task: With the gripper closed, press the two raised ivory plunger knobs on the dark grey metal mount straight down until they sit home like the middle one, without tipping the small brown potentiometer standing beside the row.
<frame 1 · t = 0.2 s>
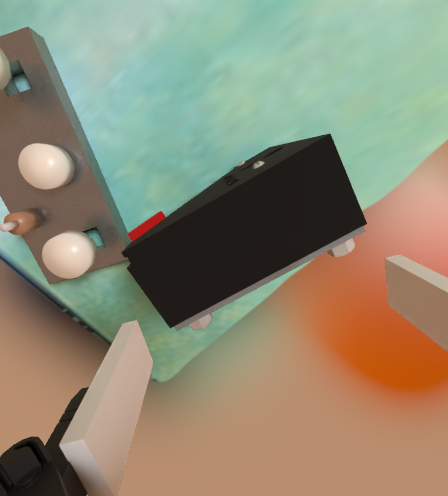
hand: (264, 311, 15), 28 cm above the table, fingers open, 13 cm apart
knob mid: (54, 166, 35), point 3 cm above the table, slide at 4.0 cm
mount: (52, 170, 38), on the table
knob outer: (76, 250, 34), point 7 cm above the table, slide at 0.0 cm
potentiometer: (30, 219, 37), point 3 cm above the table, touching mount
electrical component: (228, 207, 41), on the table
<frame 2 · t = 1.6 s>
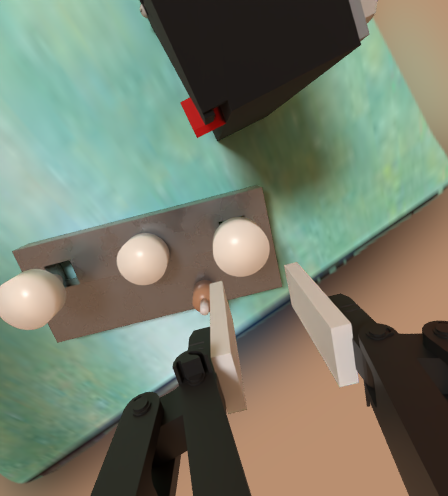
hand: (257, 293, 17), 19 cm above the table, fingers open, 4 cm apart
knob mid: (147, 254, 32), point 3 cm above the table, slide at 4.0 cm
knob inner: (41, 291, 28), point 7 cm above the table, slide at 0.0 cm
mount: (157, 260, 35), on the table
knob outer: (238, 241, 28), point 7 cm above the table, slide at 0.0 cm
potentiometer: (204, 289, 34), point 3 cm above the table, touching mount
electrical component: (207, 44, 29), on the table
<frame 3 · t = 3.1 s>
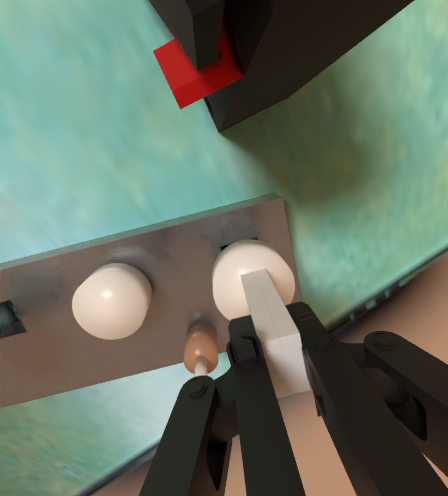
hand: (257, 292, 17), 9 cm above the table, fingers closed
knob mid: (120, 291, 23), point 3 cm above the table, slide at 4.0 cm
mount: (138, 295, 26), on the table
knob outer: (247, 273, 20), point 6 cm above the table, slide at 1.4 cm, touching gripper
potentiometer: (201, 337, 24), point 3 cm above the table, touching mount
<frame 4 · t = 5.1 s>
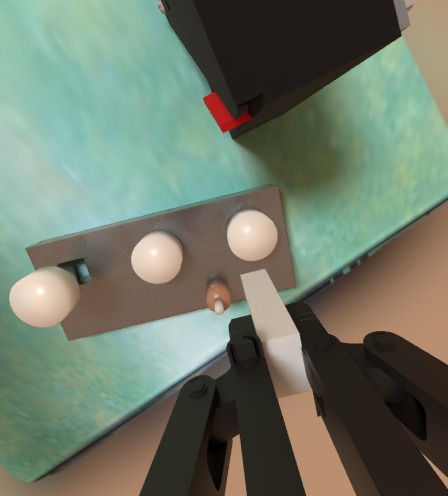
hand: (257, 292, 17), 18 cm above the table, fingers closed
knob mid: (160, 252, 31), point 3 cm above the table, slide at 4.0 cm
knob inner: (55, 289, 28), point 7 cm above the table, slide at 0.0 cm
mount: (170, 259, 35), on the table
knob outer: (249, 231, 31), point 3 cm above the table, slide at 4.0 cm
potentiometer: (217, 289, 33), point 3 cm above the table, touching mount
electrical component: (224, 41, 29), on the table
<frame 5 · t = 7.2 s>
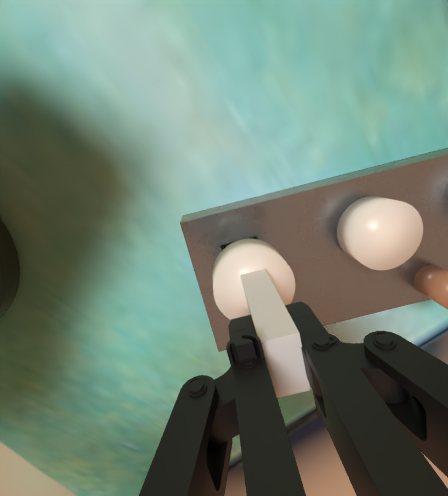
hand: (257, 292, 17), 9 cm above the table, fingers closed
knob mid: (366, 227, 22), point 3 cm above the table, slide at 4.0 cm
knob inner: (248, 272, 20), point 6 cm above the table, slide at 1.2 cm, touching gripper
mount: (349, 240, 26), on the table
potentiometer: (428, 278, 24), point 3 cm above the table, touching mount
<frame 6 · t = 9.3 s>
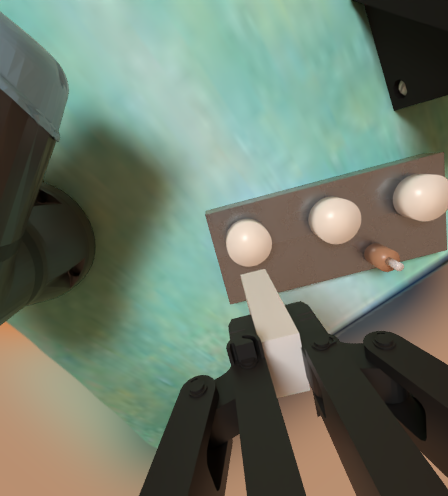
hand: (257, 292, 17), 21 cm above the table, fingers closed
knob mid: (328, 217, 34), point 3 cm above the table, slide at 4.0 cm
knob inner: (246, 238, 34), point 3 cm above the table, slide at 4.0 cm
mount: (321, 227, 37), on the table
knob outer: (412, 195, 33), point 3 cm above the table, slide at 4.0 cm
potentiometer: (374, 253, 35), point 3 cm above the table, touching mount
electrical component: (398, 18, 31), on the table
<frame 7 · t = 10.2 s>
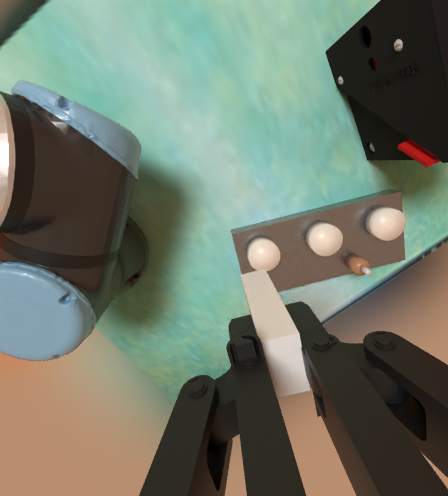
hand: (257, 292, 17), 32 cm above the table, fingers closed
knob mid: (320, 236, 47), point 3 cm above the table, slide at 4.0 cm
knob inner: (261, 251, 47), point 3 cm above the table, slide at 4.0 cm
mount: (314, 242, 51), on the table
knob outer: (379, 221, 47), point 3 cm above the table, slide at 4.0 cm
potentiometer: (353, 261, 49), point 3 cm above the table, touching mount
electrical component: (369, 97, 44), on the table
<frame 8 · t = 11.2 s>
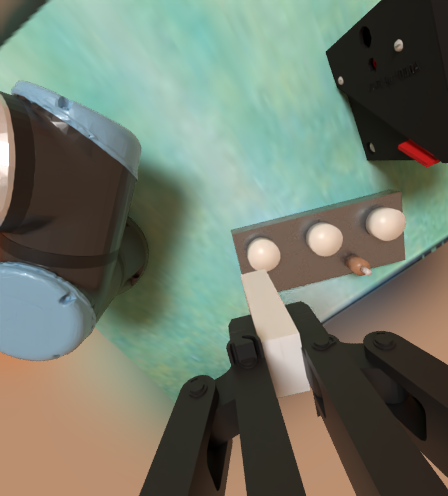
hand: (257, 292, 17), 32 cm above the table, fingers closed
knob mid: (320, 236, 47), point 3 cm above the table, slide at 4.0 cm
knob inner: (261, 251, 47), point 3 cm above the table, slide at 4.0 cm
mount: (314, 242, 51), on the table
knob outer: (379, 221, 47), point 3 cm above the table, slide at 4.0 cm
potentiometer: (353, 261, 49), point 3 cm above the table, touching mount
electrical component: (369, 98, 44), on the table
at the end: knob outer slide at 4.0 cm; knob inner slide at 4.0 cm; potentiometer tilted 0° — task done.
